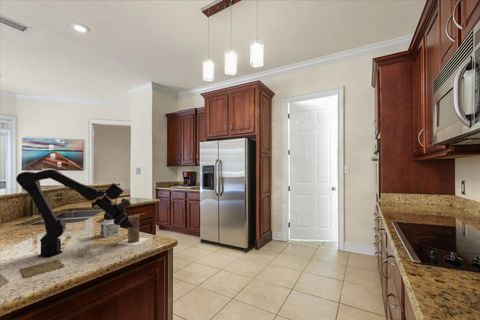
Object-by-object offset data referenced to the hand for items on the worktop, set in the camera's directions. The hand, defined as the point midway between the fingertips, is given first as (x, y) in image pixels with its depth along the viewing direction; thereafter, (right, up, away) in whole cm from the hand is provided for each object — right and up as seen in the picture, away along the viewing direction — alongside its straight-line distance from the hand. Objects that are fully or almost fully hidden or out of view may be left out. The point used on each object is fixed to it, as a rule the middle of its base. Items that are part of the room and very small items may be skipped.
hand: (132, 225), depth 117 cm
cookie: (-20, -8, -31) cm, 38 cm away
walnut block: (+1, -8, 0) cm, 8 cm away
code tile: (+1, -9, 0) cm, 9 cm away
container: (-19, -9, +12) cm, 24 cm away
